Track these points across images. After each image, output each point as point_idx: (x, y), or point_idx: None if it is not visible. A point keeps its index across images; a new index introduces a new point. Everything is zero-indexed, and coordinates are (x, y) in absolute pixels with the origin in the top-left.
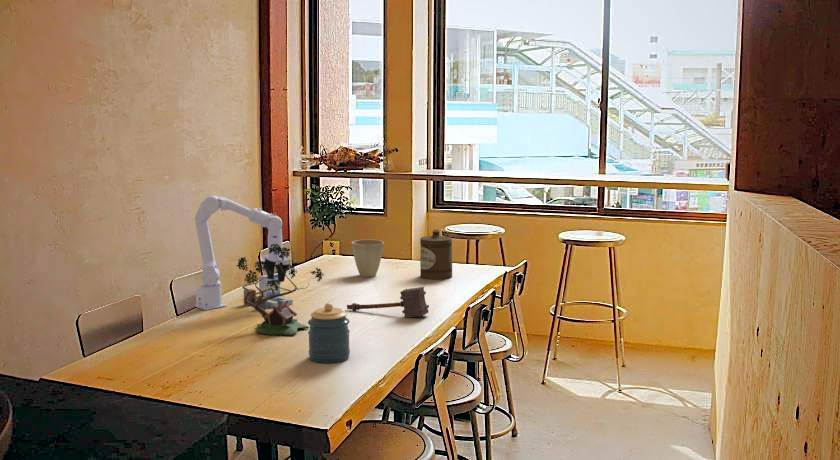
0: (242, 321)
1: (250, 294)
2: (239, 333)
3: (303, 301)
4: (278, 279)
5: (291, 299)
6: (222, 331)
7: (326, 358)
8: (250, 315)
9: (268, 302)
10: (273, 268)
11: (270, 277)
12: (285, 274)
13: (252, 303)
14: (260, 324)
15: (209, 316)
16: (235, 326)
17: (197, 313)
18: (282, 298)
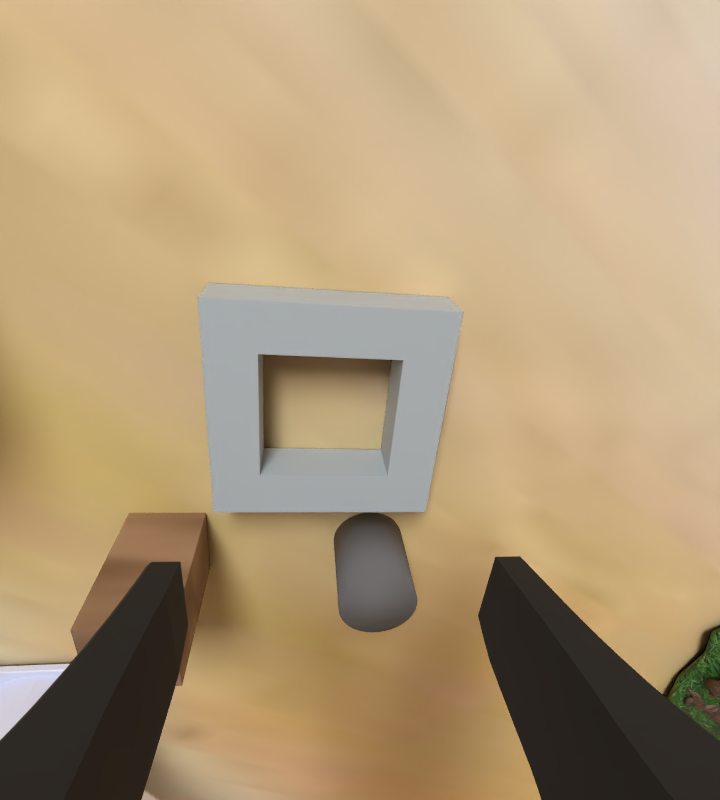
0: (509, 713)
1: (187, 635)
2: None
3: (432, 95)
4: (495, 660)
5: (446, 312)
6: None
7: None
8: (445, 651)
9: (345, 507)
10: (91, 779)
11: (178, 628)
12: (618, 659)
13: (204, 551)
14: None
15: (289, 767)
16: None
17: (182, 782)
18: (332, 352)
